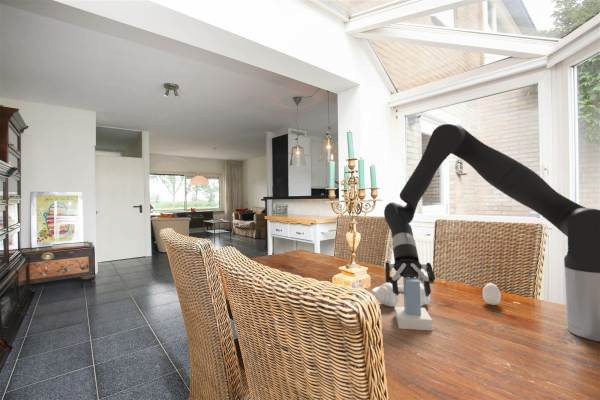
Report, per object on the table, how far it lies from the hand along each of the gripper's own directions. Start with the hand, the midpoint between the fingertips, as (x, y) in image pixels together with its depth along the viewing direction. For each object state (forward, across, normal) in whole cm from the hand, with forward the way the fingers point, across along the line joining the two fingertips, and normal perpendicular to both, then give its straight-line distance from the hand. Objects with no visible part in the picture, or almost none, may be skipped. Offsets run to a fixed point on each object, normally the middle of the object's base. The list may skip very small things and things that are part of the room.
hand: (412, 294), depth 82 cm
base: (+5, 0, +7) cm, 9 cm away
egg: (-7, +29, +20) cm, 36 cm away
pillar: (+3, 0, +5) cm, 6 cm away
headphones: (-9, -1, +22) cm, 24 cm away
